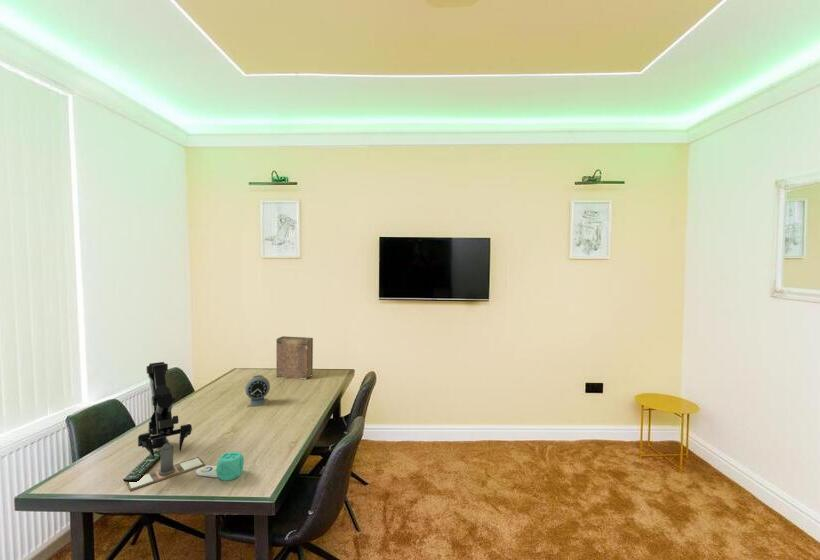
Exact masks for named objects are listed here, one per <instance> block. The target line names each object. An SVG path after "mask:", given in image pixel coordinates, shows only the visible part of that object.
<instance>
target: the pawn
mask: <svg viewBox="0 0 820 560" xmlns="http://www.w3.org/2000/svg"><path fill="white" fill-rule="evenodd" d="M159 451H160V459H159V461H160V462H159V463H160V468H159V469H160V470H159V469H158V470H159V475H160V476H166V475H169V474H172V473H173V472H174V471H175V467H174V466H173V465H174V446H173V445H172V443H169V442H168V443H166V444H164V445H163V446H161V448H160V450H159Z"/></svg>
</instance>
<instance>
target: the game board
mask: <svg viewBox="0 0 820 560" xmlns="http://www.w3.org/2000/svg"><path fill="white" fill-rule="evenodd" d="M173 466H174V467H175V471H174V472H173V473H172V474H169V475H166V476H160V475H159V470H160V469H161V468H159V469H157V470H152V471H150V472H148V473H145V475H144V474H143V475H144V476H143V477H142V478H141V479H140V480H139V481H137V482H129V483H128V482H126V481H125V484H126V483H127V484H126V485H127V487H128V491H129V492H132V491H135V490H138V489H140V488H143V486H144V487H147V486H149V484H150V485H153V484H155V482H156V483H158V481H159V482H161V480H162V481H164V480H167V479H169V477H170V478H173V477H177V476H178V475H182V474H185V473H188V472H191V471H193V470H196V468H197V469H200V468H201V467H204V466H206V464H205V463H204V461H203V460H202V459H201V458H200V457H199V456H196V457H193V458H190V459H187V460H185V461H181V462H178V463H175V464H173ZM152 483H153V484H152ZM146 485H147V486H146ZM137 488H138V489H137ZM131 490H132V491H131Z"/></svg>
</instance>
